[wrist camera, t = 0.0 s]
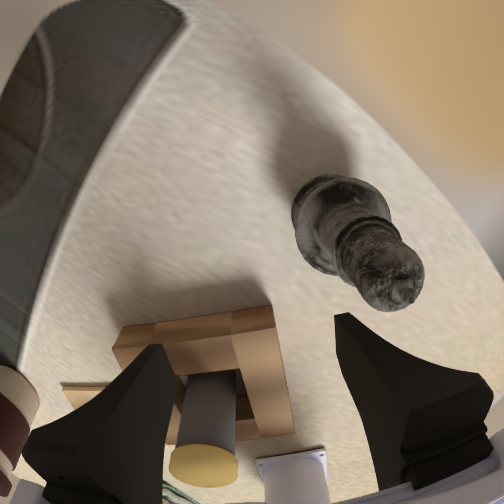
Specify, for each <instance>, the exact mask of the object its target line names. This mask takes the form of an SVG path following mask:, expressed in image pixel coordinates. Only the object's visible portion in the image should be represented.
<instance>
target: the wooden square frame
mask: <svg viewBox="0 0 504 504" xmlns="http://www.w3.org/2000/svg"><path fill="white" fill-rule="evenodd" d="M158 343H162V345H163V347H164V350H165V352H166V354H167V357H168V359H169V362H170V364H171V366H172V369H173V371H174V373H175V375H176V378H177V381H176V394H175V401H174V406H173V410H172V414H171V419H170V423H169V427H168V432H167V436H166V441H165V443H166V445H176V441H177V435H178V430H179V424H180V419H181V413H182V408H183V403H184V397H185V392H186V391H185V389H184V387H183V385H182V382H181V380H180V378H179V376H178V375H186V374H196V373H205V372H213V371H221V370H229V369H236V368H240V370H241V374H242V377H243V381H244V384H245V387H246V391H247V394H248V395H244V396H236V418H235V441H241V440H250V439H259V438H266V437H273V436H280V435H286V434H292V433H295V431H294V424H293V418H292V411H291V405H290V400H289V394H288V389H287V383H286V378H285V372H284V367H283V361H282V356H281V351H280V345H279V340H278V334H277V329H276V324H275V318H274V313H273V308H272V305H267V306H261V307H256V308H250V309H244V310H238V311H232V312H226V313H220V314H214V315H207V316H201V317H194V318H187V319H181V320H174V321H166V322H159V323H152V324H144V325H136V326H128V327H123V329H122V331H121V333H120V334H119V336H118V338H117V340H116V342H115V344H114V346H113V347H112V351H113V353H114V355H115V357H116V359H117V361H118V363H119V365H120V367H121V369H122V371H124V369H125V368H126V367H127V366H128V365H129V364H130V363H131V362H132V361H133V360H134V359H135V358H136V357H137V356H138V355H139V354H140V353H141V352H142V351H143V350H144V349H145V348H146V347H147V346H148V345H149V344H158Z"/></svg>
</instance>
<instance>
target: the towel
mask: <svg viewBox="0 0 504 504" xmlns="http://www.w3.org/2000/svg"><path fill="white" fill-rule="evenodd" d="M162 498H163V504H169V503H175V504H199V503H198V502H196V501H195V500H193V499H191V498H190V497H188V496H186V495H185V494H183V493H182V492H180V491H179V490H177V489H175V488H173V487H171V486H169V485H166V484H162Z"/></svg>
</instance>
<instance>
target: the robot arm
mask: <svg viewBox="0 0 504 504" xmlns="http://www.w3.org/2000/svg"><path fill="white" fill-rule="evenodd" d="M334 322H335V338H336V354H337V358H338V361H339V365H340V368H341V372H342V375H343V377H344V379H345V382H346V384H347V386H348V389H349V391H350V393H351V395H352V398H353V400H354V402H355V405H356V407H357V409H358V412H359V414H360V417H361V420H362V422H363V426H364V429H365V433H366V436H367V440H368V444H369V448H370V452H371V456H372V460H373V464H374V469H375V473H376V477H377V482H378V488H379V492H376V493H372V494H369V495H365V496H361V497H357V498H353V499H349V500H345V501H341V502H336V503H332V504H504V429H502V430H500V431H498V432H497V433H495V434H494V435H493V436H492V437H491V438H490V439H488V437H487V436H486V434H485V433H486V432H487V427H486V425H485V424H484V420H485V418H486V416H487V414H488V412H489V409H490V407H491V405H492V401H493V398H494V395H493V391H492V390H491V388H490V387H489V386H488V384H487V383H486V381H485V380H484V379H483V378H482V377H481V376H480V374H479V373H473V372H467V371H460V370H455V369H451V368H447V367H443V366H440V365H437V364H433V363H431V362H428V361H425V360H423V359H420V358H418V357H415V356H413V355H411V354H409V353H407V352H405V351H403V350H401V349H399V348H397V347H396V346H394V345H392V344H391V343H389V342H387V341H386V340H384V339H383V338H381V337H380V336H379V335H377V334H376V333H374V332H373V331H372V330H370V329H369V328H368V327H366V326H365V325H364V324H363V323H361V322H360V321H359V320H358V319H357V318H355V317H354V316H353V315H352V314H350V313H349V312H347V313H343V314H338V315H334ZM176 381H177V378H176V375H175V373H174V371H173V369H172V366H171V364H170V362H169V359H168V357H167V354H166V352H165V350H164V347H163V345H162V343H158V344H149V345H148V346H147V347H146V348H145V349H144V350H143V351H142V352H141V353H140V354H139V355H138V356H137V357H136V358H135V359H134V360H133V361H132V362H131V363H130V364H129V365H128V366H127V367H126V368H125V369H124V371H123V372H122V373H121V374H120V375H118V376H117V377H116V378H115V379H114V380H113V381H112V382H111V383H110V384H109V385H108V386H107V387H106V388H105V389H103V390H102V391H101V392H100V393H99V394H97V395H96V396H95V397H93V398H92V399H91V400H90V401H88V402H87V403H85V404H84V405H82V406H80V407H79V408H77V409H76V410H74V411H73V412H71V413H69V414H67V415H66V416H64V417H62V418H60V419H58V420H56V421H54V422H51V423H49V424H46V425H44V426H41V427H39V428H36V429H33V430H32V431H31V433H30V435H29V437H28V439H27V441H26V443H25V445H24V447H23V449H22V451H21V452H22V456H23V458H24V459H25V461H26V462H27V463H28V464H29V465H30V466H31V467H32V468H33V469H34V470H35V471H36V472H37V473H38V474H39V475H40V476H41V477H42V478H43V479H44V480H45V481H46V482H47V484H46V486H45V488H44V487H43V486H41V485H39V484H37V483H33V482H30V481H27V480H24V479H20V481H19V483H18V485H17V487H16V490H15V492H14V495H13V497H12V499H11V501H10V504H163V498H162V479H163V460H164V448H165V441H166V436H167V432H168V427H169V423H170V419H171V414H172V410H173V406H174V401H175V394H176ZM255 463H256V466H257V468H258V471H259V473H260V476H261V478H262V481H263V483H264V488H265V502H245V503H227V504H331V502H330V497H329V492H328V486H327V462H326V450H325V449H323V448H322V449H317V450H312V451H306V452H301V453H295V454H289V455H282V456H275V457H268V458H260V459H256V460H255ZM169 504H175V503H169Z"/></svg>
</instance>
